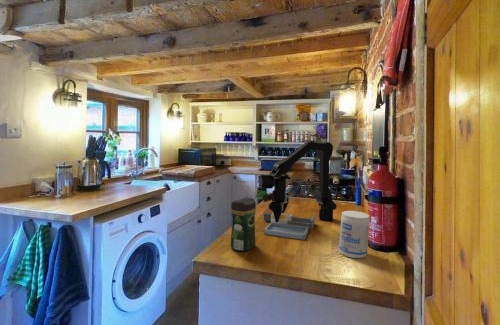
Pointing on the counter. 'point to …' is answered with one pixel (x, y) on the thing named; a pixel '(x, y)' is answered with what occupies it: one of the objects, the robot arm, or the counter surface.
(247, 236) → the coffee jar
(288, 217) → the white open-front box
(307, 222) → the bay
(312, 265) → the counter surface
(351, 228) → the supplement tub
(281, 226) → the tray
